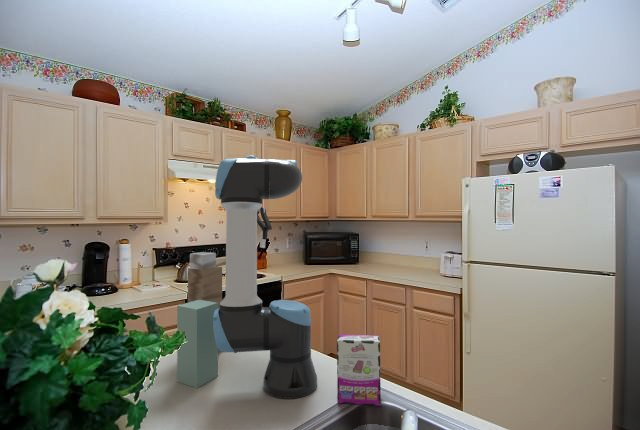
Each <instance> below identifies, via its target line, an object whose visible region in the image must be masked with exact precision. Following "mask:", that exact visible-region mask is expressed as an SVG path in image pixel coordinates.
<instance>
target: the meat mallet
mask: <svg viewBox="0 0 640 430" xmlns="http://www.w3.org/2000/svg"><path fill="white" fill-rule="evenodd" d="M216 266H218V267H223V266H226V256H221V257H217V253H216V252H209V251H208V252H206V251H205V252H204V251H203V252H202V251H201V252H193V253H190V254H189V268H190V269H199V270H205V269H210V268H216Z"/></svg>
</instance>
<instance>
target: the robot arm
mask: <svg viewBox="0 0 640 430" xmlns="http://www.w3.org/2000/svg"><path fill="white" fill-rule="evenodd" d="M302 183H303V174H302V171H301V169H300V168H299V166H298V161H297V160H294V159H273V158H270V159H268V158H267V159H264V158H258V157H257V156H255V155H247V156H245V157H243V158H240V157H236V158H225V159H223V160H221V162H219V164H218V168H217V171H216V176H215V184H214V187H215V190H214V191H215V192H214V196H215V198H216V199H218V200H220V205H221V207H222V208H224V210H225V211H226V215H225V216H226V223H225V224H226V227H225V228H226V229H225V230H226V231H225V232H226V233H225V234H226V235H225V238H226V239H225V242H226V243H225V257H226V265H225V296H224V297H223V298H222V301H221V302H220V308H218V309H216V310H215V311H214V315H213V320H214V322H213V329H214V337H215V342H216V346H217V348H218V349H219V350H220V351H221V353H233V354H237V353H246V352H247V353H248V352H265V351H267V352H268V351H269V360H268V364H267V367H266V370H265V373H264V377H263V389H264V391H265V392H266V393H267V394H268V395H270V396H272V397H275V398H279V399H286V400H287V399H289V400H290V399H296V398H297V399H299V398H302V397H305V396H307V395H310V394H311V393H313V392H314V391H315V390H316V388H317V386H318V375H317V372H316V369H315V366H314V362H313V358H312V345H311V344H312V334H311V333H312V327H311V326H312V317H311V308H309V306H308V305H306V304H305V303H303V302H299V301H294V300H289V299H278V300H273V301H271V302H270V303H269V306H268V307H267V306H263V300H262V299H261V298H260V297H259V296H258V293H257V292H258V226H259V227H260V229H261V231H260V239H259V240H260V241H259V248H262V249H265V248H266V240H267V239H268V232H269V231H271V230H273V227H272V225H271V222H270V219H269V217H268V215H267V210H266V209H267V208H265V207H263V201H264V200H276V199H277V200H278V199H283V198H285V197H288V196H291V195H292V194H293V193H295V192H296V191H297V190H298V189H299V188H300V186H301V184H302ZM259 214H260V215H259Z"/></svg>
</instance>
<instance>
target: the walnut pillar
mask: <svg viewBox="0 0 640 430" xmlns="http://www.w3.org/2000/svg"><path fill="white" fill-rule="evenodd" d="M196 300H204V301H210V302H216V303H218V308H220V302H221V301H222V300H223V266H216V268H210V269H205V270H199V269H190V267H188V268H187V303H189V302H192V301H196ZM221 353H222V352H221V351H220V350H219V349H218V355H219V354H221Z"/></svg>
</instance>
